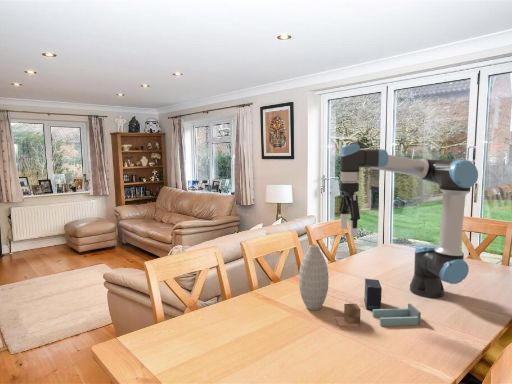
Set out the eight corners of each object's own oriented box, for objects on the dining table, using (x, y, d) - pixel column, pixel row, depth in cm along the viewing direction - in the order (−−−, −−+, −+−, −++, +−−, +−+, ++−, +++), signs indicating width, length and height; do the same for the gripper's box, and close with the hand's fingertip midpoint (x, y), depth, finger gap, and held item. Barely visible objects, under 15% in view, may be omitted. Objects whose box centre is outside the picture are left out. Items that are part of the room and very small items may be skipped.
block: (356, 317, 145) (356, 303, 145) (360, 323, 140) (360, 308, 140) (344, 317, 145) (344, 303, 145) (347, 323, 140) (348, 309, 140)
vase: (331, 304, 160) (331, 243, 157) (324, 316, 148) (324, 250, 145) (303, 299, 165) (304, 240, 162) (295, 310, 154) (295, 247, 151)
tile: (351, 317, 147) (351, 316, 146) (357, 326, 140) (357, 324, 140) (335, 318, 146) (335, 316, 146) (340, 326, 139) (340, 325, 139)
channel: (409, 315, 148) (410, 303, 148) (420, 324, 140) (420, 312, 139) (372, 316, 148) (372, 304, 147) (380, 326, 139) (381, 314, 139)
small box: (381, 311, 152) (382, 287, 151) (366, 310, 154) (366, 286, 153) (378, 301, 163) (379, 279, 162) (363, 300, 164) (364, 278, 163)
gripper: (332, 179, 159) (332, 226, 161) (350, 184, 134) (349, 239, 137) (349, 179, 159) (348, 225, 162) (369, 184, 135) (368, 239, 137)
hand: (348, 232), depth 149 cm, fingers open, 13 cm apart
